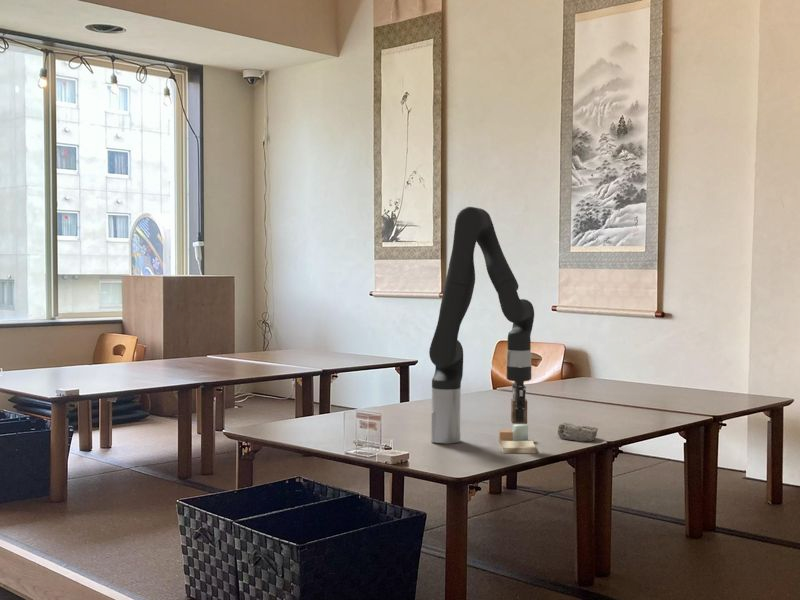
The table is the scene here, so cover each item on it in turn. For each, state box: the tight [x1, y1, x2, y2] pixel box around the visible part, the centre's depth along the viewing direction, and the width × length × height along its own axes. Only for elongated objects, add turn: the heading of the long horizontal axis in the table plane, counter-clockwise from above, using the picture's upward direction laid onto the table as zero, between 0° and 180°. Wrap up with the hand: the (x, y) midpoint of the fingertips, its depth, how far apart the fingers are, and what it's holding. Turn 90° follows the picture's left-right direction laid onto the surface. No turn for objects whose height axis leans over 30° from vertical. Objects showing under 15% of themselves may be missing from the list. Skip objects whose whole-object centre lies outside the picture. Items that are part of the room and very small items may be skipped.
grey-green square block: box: [511, 423, 529, 441], centre depth 295 cm, size 5×5×5 cm
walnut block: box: [510, 398, 528, 425], centre depth 281 cm, size 4×4×7 cm
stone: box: [557, 422, 599, 443], centre depth 299 cm, size 13×6×10 cm
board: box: [499, 440, 537, 454], centre depth 282 cm, size 10×11×2 cm
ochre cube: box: [498, 429, 513, 444], centre depth 291 cm, size 4×4×4 cm
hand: (518, 419), depth 281 cm, fingers closed on walnut block, 4 cm apart
